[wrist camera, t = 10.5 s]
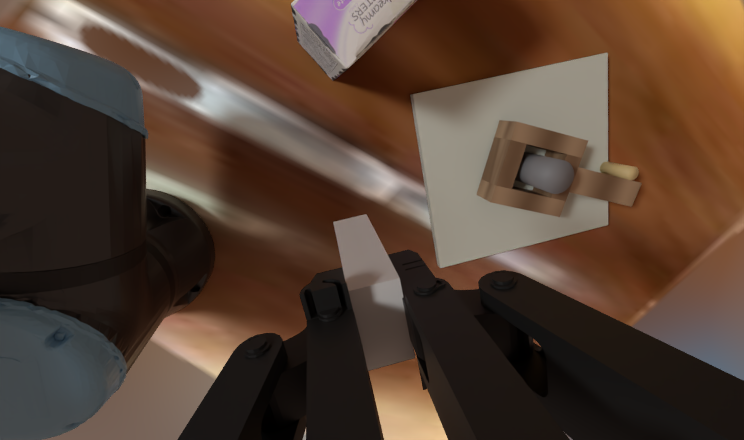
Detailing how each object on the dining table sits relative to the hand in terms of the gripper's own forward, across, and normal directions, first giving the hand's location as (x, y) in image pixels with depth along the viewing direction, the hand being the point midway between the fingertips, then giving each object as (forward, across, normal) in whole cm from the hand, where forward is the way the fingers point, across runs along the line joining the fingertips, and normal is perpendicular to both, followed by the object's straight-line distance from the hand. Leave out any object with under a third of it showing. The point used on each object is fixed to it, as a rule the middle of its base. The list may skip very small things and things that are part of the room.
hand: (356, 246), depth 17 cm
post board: (+29, +23, -6) cm, 38 cm away
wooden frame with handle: (+28, +27, -8) cm, 40 cm away
